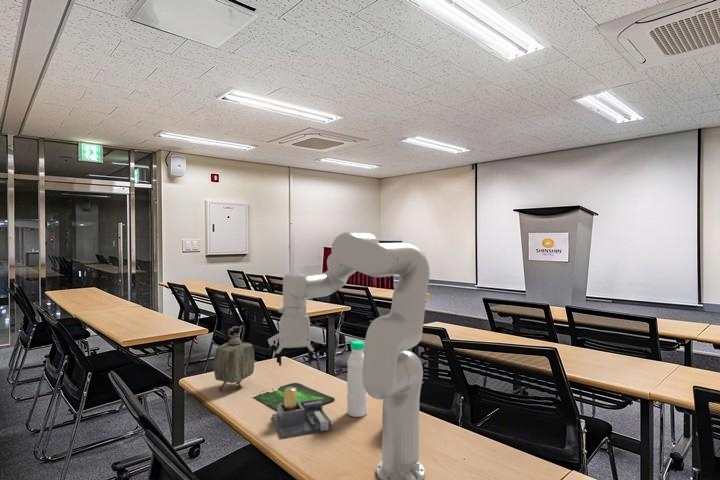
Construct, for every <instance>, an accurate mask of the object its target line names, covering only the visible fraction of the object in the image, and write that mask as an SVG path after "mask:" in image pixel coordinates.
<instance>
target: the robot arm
mask: <svg viewBox="0 0 720 480" xmlns="http://www.w3.org/2000/svg"><path fill="white" fill-rule="evenodd" d="M326 265H327V266H326V267H327V269H328V270H326V271H324V272H323V273H312V274H311V273H310V274H303V273H287V274H285V275H284V276H283V277H282V307H281V308H278V313H279V314H280V313H281V314H282V315H281V317H280V319H279V330H278V333H276V334H275V335H273V336H271V337H270V338H268V339H267V342H268V344H269V346H270V348H271V349H272V350H273V351H274V352H275V353H276V363H278V366H279V367H281V366H282V352H281V351H282V350H283V349H297V348H308V350H307V351H308V353H307V355H308V356H307V360H308V361H307V362H308V364H310V365H312V361H314V351H315V349H316V348H318V346H319V344H320V342H321V340H322V336H321V335H319V334H316V333H314V332H312V330H311V320H310V316H309V314H307V300H310V299H314V298H315V299H316V298H322V297H327V296H330V295H332V294H334V293H336V292H337V291H339V290H340V289H342V288H343V287H344V286H345V285H346V284H347V282H348V280H349V277H350V276H352V275H353V274H355V273H356V272H359V273H361V274H364V275H366V276H369V277H373V278H384V277H385V278H386V277H393V276H398V277H399V279H398V282H396V285H395V287H394V290H393V293H392V299H391V300H392V301H391V307H390V312H389V313H388V314H384V315H381V316H379V317H377V318H374V320H373V321H372V322H371V323H370V324H369V326H368V328H367V331H366V335H365V339H364V340H365V341H364V350H363V353H364V359H363V369H362V380H363V385H364V388H365V390H366V392H367V395H368V396H370V397H371V398H373V399H375V400H382V415H381V416H382V419H381V420H382V421H381V422H382V423H381V426H382V427H381V429H382V431H381V432H382V435H381V437H382V439H381V440H382V442H381V443H382V444H381V445H382V450H381V451H382V452H381V455H382V456H381V460H380V461H378V463H377V465H376V475H377V477H378V479H379V480H424V479H425V475H426V468H425V466H424V465H423V464H422V463H421V462H420V397H421V389H422V384H423V376H424V369H423V363H422V362H421V359H420V358H419V357H418V356H417V355H416V353H414V352H412V351H409V349H412V348H414V347H415V346H417V345H418V344H419V343H420V342H421V340H422V338H423V337H422V336H423V330H424V329H423V328H424V321H425V314H426V313H425V312H426V303H427V302H426V300H427V293H428V287H429V282H430V275H431V273H430V271H431V270H430V265H429V261H428V259H427V257H426V255H425V254H424V252H423V251H421V249H419V248H418V246H416V245H413V244H410V243H406V242H380V240H379V239H378V238H377V237H376V236H375V235H374V234H371V233H369V232H349V231H348V232H343V233H340V234H339V235H337V236H336V237H335V238H334V240H333V241H332V244H331V253H330V254H329V255H328V257H327V260H326ZM312 338H313V339H315V341H314V342H313V344H311V341H312ZM277 340H278V344H279V345H278V346H277V345H276V344H275V343H274V342H275V341H277Z"/></svg>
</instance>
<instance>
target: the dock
mask: <svg viewBox="0 0 720 480" xmlns="http://www.w3.org/2000/svg"><path fill="white" fill-rule="evenodd" d="M316 411H320V412H321V414H322V415H323V417H324V418H325V419H326V420H328V421H329V430H328V431H330V430H332V427H333V426H332V420H331V419H330V418H329V416H328V415H327V414H326V412H325V411H324V410H323V405H322V402H321V401H319V399H312V400H305V401H301V403H300V402H299V401H297V402H296V410H291V411H285V412H284V404H277V411H276V412H277V413H272V414H271V415H272V416H271V417H272V419H273V422H274V425H275V426H276V428H277V429H276V430H278V433H279V436H280V437H281V439H286V438H287V439H288V438H292V437H295V436H296V437H297V436H298V437H299V436H303V435H308V434H312V433H313V434H314V433H319V432H321V431H320V430H319V426H318V425H317V423H316V422H315V420H314V412H316ZM324 431H326V430H324Z"/></svg>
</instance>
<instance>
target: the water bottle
mask: <svg viewBox="0 0 720 480" xmlns="http://www.w3.org/2000/svg"><path fill="white" fill-rule="evenodd" d="M364 349H365V341H361V340H353V341H351V342H350V350H351V353H350V355H349V357H348V359H347V362H346V363H347V364H346V365H347V375H346V378H347V379H346V380H347V383H346V385H347V386H346V387H347V397H346V401H347V407H346V413H347V414H348V415H349V416H350V417H353V418H362V417H364V416H366V415H367V414H368V393H367V392H366V390H365V388H364V385H363V380H362V369H363V359H364Z"/></svg>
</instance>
